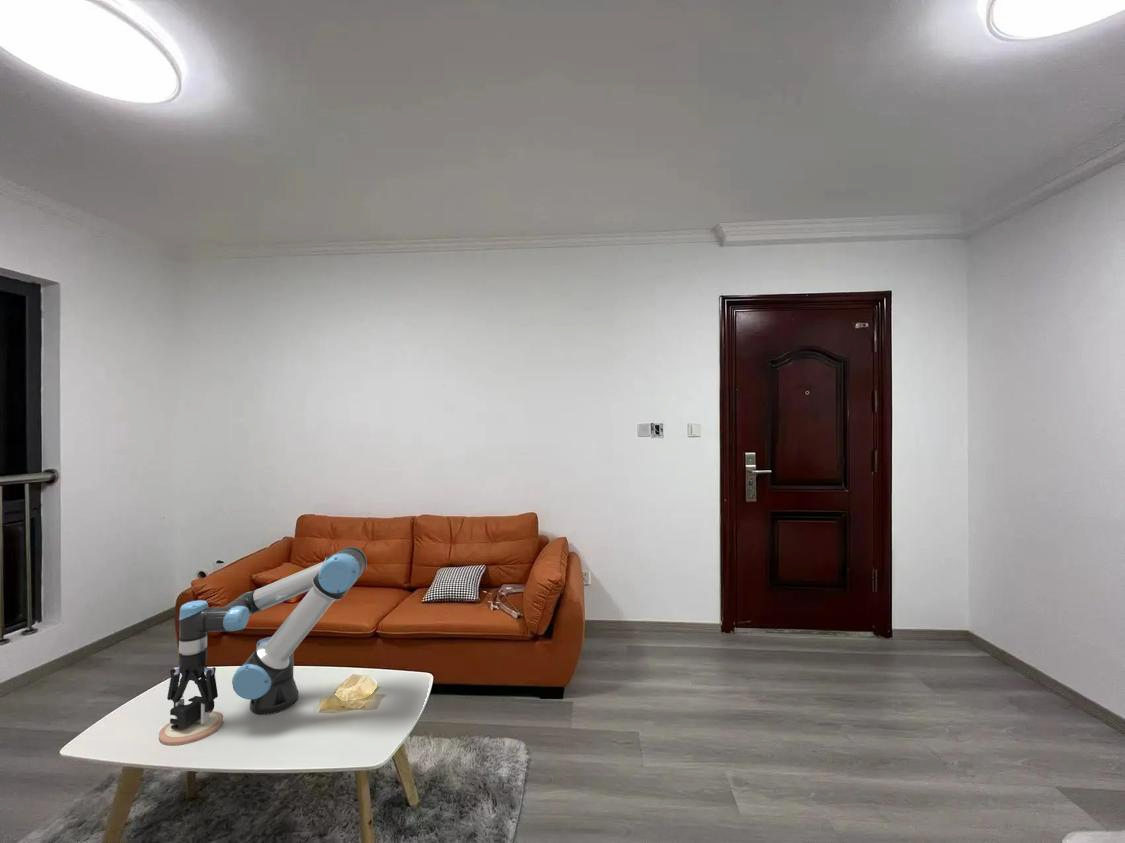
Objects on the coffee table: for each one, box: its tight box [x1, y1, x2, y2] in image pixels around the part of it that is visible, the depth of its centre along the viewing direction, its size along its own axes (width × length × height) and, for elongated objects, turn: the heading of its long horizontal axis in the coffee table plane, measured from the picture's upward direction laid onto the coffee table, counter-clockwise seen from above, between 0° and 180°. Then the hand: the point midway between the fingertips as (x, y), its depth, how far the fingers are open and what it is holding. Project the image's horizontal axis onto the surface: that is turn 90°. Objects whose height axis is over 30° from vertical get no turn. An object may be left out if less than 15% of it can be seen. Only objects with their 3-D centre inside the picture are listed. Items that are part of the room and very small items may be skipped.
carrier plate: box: [158, 710, 224, 746], centre depth 167 cm, size 17×17×2 cm
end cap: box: [169, 695, 215, 730], centre depth 167 cm, size 10×7×7 cm
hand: (192, 721), depth 167 cm, fingers closed on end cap, 8 cm apart
